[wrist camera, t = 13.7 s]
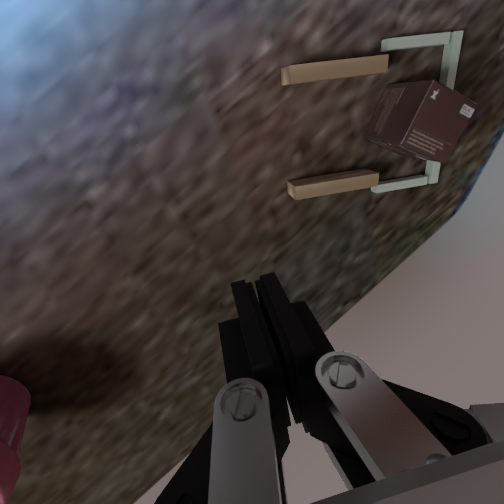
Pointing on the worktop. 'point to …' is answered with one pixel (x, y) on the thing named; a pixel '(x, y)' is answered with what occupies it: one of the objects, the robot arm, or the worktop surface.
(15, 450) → the plant pot
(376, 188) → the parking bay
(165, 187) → the worktop surface
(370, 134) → the box
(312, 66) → the channel
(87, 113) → the worktop surface
